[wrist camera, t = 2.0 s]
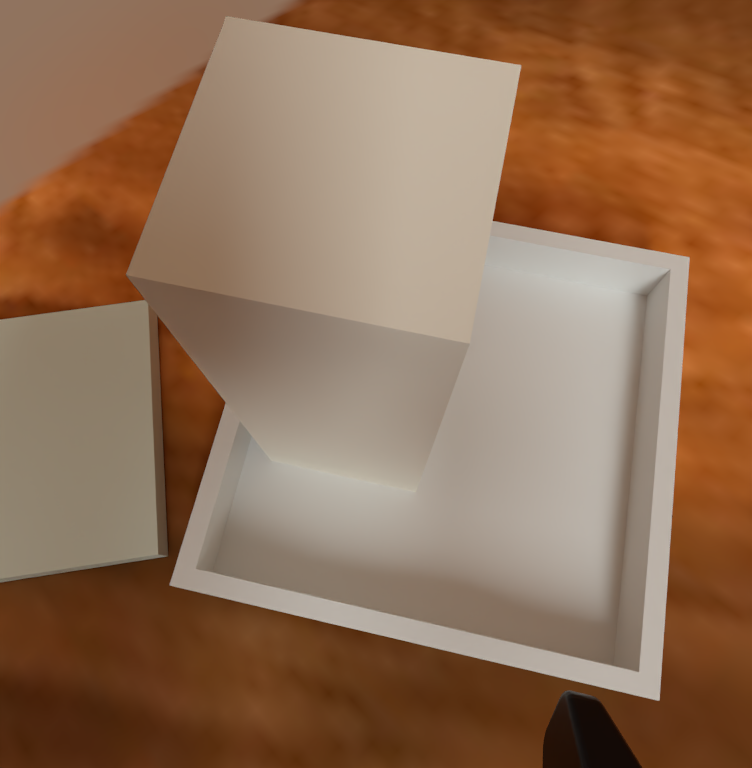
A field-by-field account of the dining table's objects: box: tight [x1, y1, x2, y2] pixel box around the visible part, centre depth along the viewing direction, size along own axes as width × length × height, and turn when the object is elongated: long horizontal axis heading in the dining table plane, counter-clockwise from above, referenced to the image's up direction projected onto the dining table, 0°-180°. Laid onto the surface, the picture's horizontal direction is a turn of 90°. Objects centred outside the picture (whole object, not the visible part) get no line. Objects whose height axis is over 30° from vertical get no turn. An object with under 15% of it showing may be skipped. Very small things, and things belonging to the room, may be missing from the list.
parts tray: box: [170, 221, 690, 701], centre depth 21 cm, size 14×14×2 cm
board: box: [0, 300, 168, 582], centre depth 22 cm, size 9×9×1 cm
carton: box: [126, 16, 521, 492], centre depth 16 cm, size 5×5×13 cm
